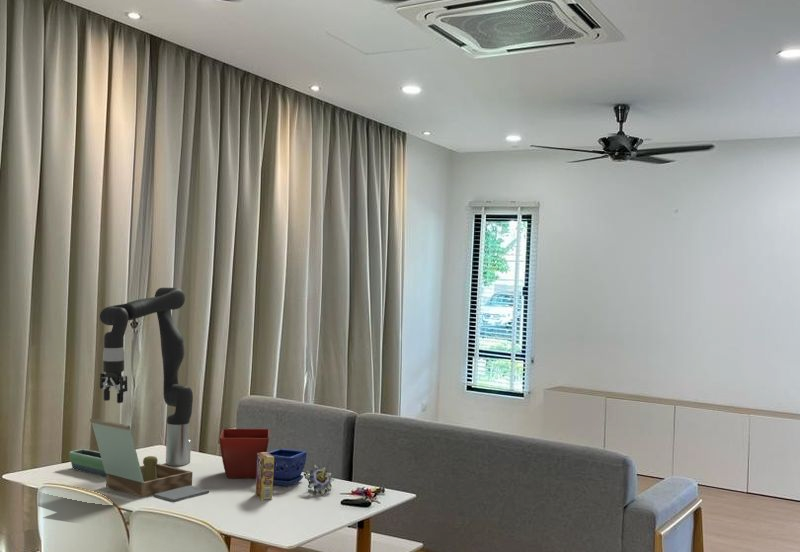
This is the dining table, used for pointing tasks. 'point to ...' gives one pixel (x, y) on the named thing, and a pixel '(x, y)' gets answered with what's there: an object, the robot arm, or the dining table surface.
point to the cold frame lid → (117, 449)
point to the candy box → (264, 475)
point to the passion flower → (319, 479)
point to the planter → (87, 461)
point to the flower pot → (288, 466)
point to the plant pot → (242, 451)
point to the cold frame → (152, 481)
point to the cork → (149, 468)
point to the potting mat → (181, 493)
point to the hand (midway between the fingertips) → (113, 401)
